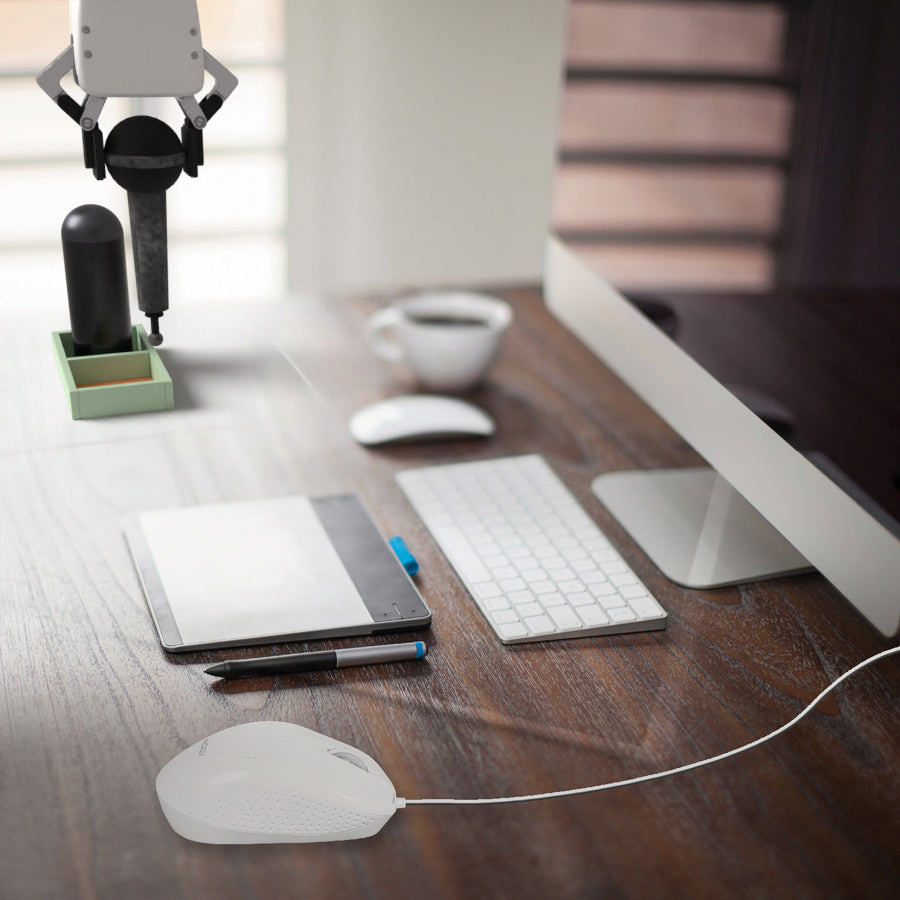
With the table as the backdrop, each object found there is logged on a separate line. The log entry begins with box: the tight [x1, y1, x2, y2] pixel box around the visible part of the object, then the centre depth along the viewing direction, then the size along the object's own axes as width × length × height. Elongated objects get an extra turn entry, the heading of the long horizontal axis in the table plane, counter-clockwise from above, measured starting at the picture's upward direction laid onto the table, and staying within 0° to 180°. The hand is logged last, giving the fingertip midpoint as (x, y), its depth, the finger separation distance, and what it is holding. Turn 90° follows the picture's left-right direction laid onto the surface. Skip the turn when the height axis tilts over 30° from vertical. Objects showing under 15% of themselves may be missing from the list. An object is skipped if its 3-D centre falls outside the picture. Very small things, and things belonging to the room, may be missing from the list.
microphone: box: [104, 114, 186, 347], centre depth 98 cm, size 7×7×20 cm
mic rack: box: [50, 323, 175, 421], centre depth 123 cm, size 10×19×4 cm, turn 23°
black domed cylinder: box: [60, 203, 134, 357], centre depth 124 cm, size 6×6×18 cm
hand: (145, 174), depth 96 cm, fingers closed on microphone, 7 cm apart
